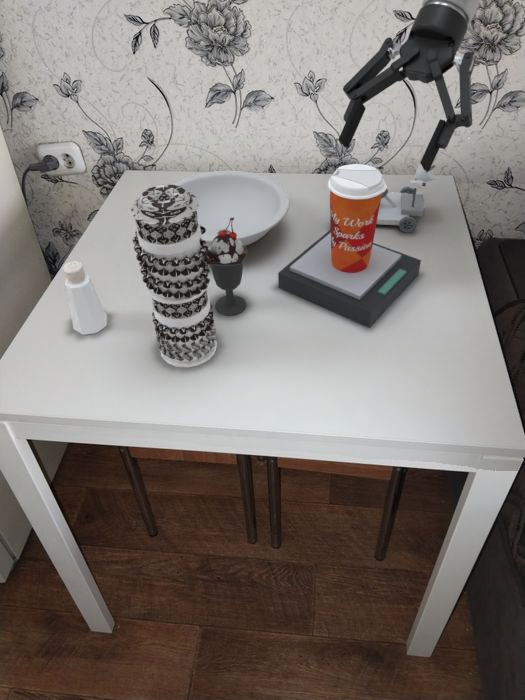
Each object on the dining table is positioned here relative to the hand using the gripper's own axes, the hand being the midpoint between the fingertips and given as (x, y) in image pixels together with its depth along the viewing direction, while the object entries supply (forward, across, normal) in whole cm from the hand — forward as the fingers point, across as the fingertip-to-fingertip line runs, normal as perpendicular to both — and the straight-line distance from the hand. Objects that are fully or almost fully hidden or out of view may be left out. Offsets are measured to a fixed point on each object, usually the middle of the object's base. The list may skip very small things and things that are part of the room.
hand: (382, 155), depth 88 cm
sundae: (+30, +12, +3) cm, 32 cm away
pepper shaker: (+41, +27, +14) cm, 51 cm away
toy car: (+4, +6, -24) cm, 25 cm away
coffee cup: (+16, 0, -6) cm, 17 cm away
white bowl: (+19, +26, -8) cm, 33 cm away
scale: (+18, 0, -9) cm, 20 cm away
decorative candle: (+38, +11, +10) cm, 41 cm away
